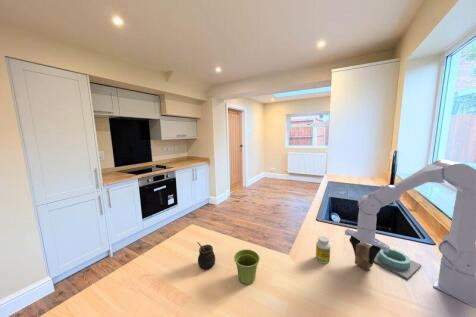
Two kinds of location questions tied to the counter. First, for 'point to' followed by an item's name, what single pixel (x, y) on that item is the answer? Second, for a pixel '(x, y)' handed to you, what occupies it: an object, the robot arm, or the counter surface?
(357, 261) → the walnut peg
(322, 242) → the supplement bottle
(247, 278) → the plant pot
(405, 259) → the collar
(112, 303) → the counter surface
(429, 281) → the counter surface
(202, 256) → the mate gourd
